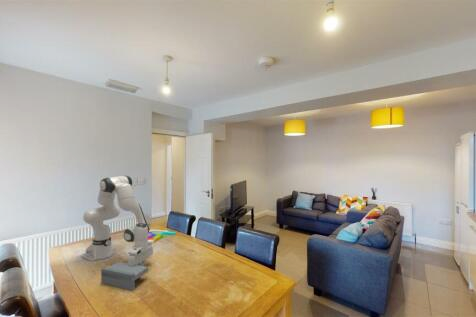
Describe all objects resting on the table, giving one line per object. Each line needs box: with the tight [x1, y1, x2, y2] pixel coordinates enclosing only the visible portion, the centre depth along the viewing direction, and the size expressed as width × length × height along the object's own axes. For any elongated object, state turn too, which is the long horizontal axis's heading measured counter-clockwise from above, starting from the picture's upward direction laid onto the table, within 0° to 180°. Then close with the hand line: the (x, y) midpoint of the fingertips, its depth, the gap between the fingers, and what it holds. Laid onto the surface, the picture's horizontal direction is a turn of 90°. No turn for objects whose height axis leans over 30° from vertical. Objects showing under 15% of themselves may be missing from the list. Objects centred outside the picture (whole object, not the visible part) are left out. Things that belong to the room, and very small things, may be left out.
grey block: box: [100, 261, 149, 291], centre depth 135 cm, size 24×13×9 cm, turn 72°
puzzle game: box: [131, 229, 177, 245], centre depth 209 cm, size 30×3×30 cm
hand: (141, 267), depth 149 cm, fingers closed
